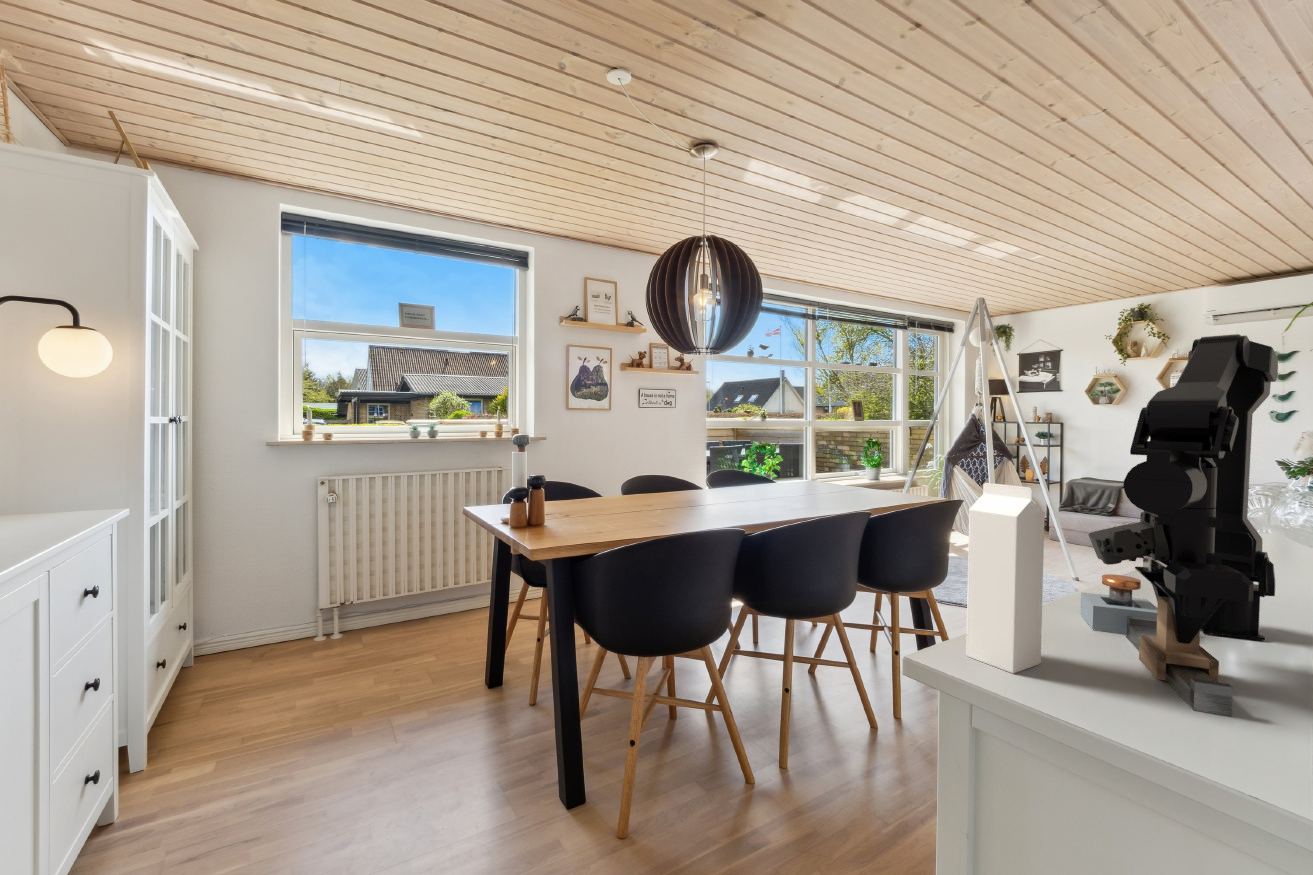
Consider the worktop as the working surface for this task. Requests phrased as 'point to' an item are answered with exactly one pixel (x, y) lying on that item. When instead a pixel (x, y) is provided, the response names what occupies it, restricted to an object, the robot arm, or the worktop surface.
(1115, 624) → the box
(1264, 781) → the worktop surface
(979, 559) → the milk
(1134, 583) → the button
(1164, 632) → the carriage
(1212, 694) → the rail
